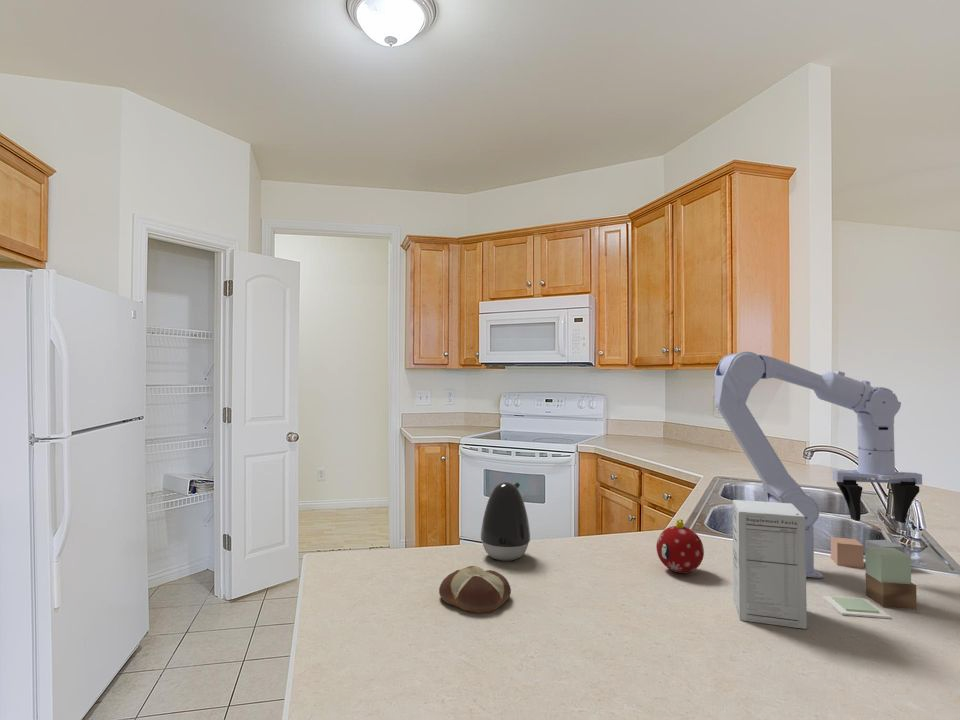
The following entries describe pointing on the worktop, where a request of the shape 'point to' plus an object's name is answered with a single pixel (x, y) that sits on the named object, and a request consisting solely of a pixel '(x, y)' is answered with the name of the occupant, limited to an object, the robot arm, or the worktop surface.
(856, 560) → the terracotta block
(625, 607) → the worktop surface
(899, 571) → the sage block
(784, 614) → the supplement box
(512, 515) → the black egg-shaped figure
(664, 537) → the christmas ornament
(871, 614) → the swatch
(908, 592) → the walnut base block
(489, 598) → the bread
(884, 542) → the slate grey block
